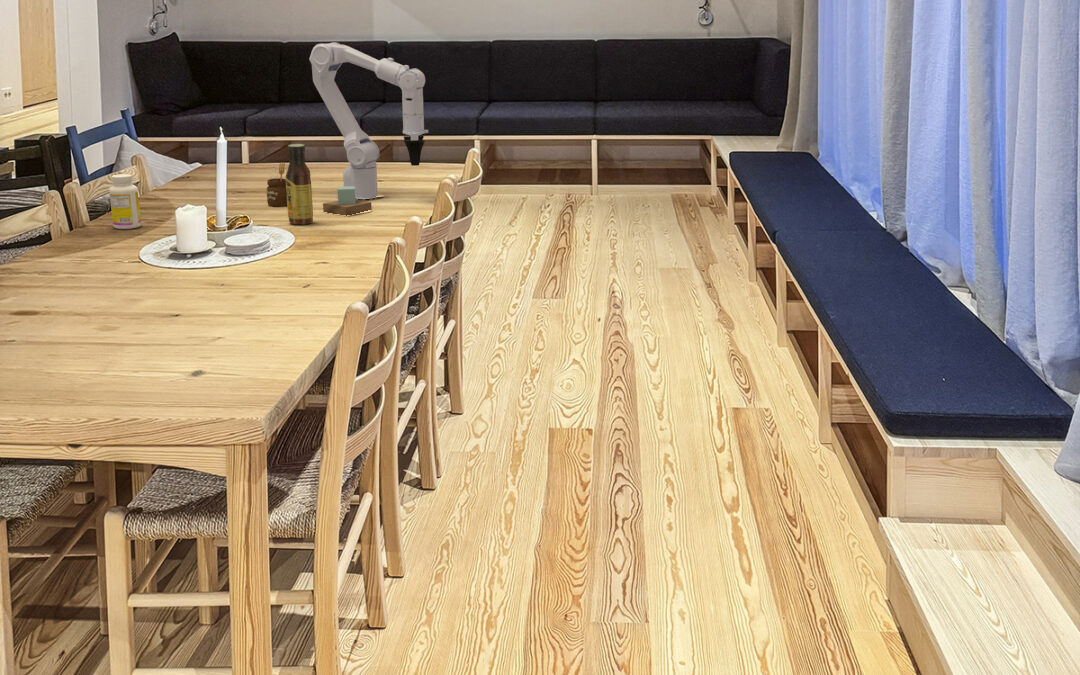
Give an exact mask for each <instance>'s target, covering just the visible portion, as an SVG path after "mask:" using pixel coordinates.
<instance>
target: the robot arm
mask: <svg viewBox="0 0 1080 675" xmlns="http://www.w3.org/2000/svg"><path fill="white" fill-rule="evenodd" d="M309 62H310V64H311V71H312V82H313V84H314V86H315V88H316V91H318V93H319V95H320V97H321V99H322V100H323V102H324V104H325V106H326V108H327V110H328V111H329V113H330V115H331V117H332V119H333V121H334V122H335V124H336V126H337V128H338V129H339V132H340V133H341V135H342V137H343V138H344V140H343V147H344V149H345V151H346V152H345V153H346V157H347V161H348V163H349V164H350V165H348V166H346V167H345V169H344V171H343V187H346V186H354V187H355V198H357V199H356V200H358V199H369V198H374V197H376V196H378V194H379V193H378V167H377V160H378V159H379V158H380V154H381V153H380V149H379V146H378V145H377V144H376V143H375V142H374V141H373V140H372V139H371V138H370V136H369V135H368V134H367V133H366V132H365V131H364V130H362V128H361V127H360V125H359V123H358V121H357V120H356V118H355V116H354V114H353V112H352V111H351V109H350V107H349V105H348V103H347V102H346V99H345V98H344V96H343V94H342V92H341V91H340V89H339V87H338V85H337V83H336V81H335V78H336V75H337V71H338V70H339V68H341V66H342V65H343V63H350V64H352V65H355V66H358V67H362V68H364V69H366V70H370V71H372V72H374V74H375V75H376V77H377V79H380V80H382V81H384V82H387V83H390V84H392V85H393V86H394V85H395V86H396V87H399V88H400V89H401V94H402V95H401V100H402V102H401V104H402V105H401V106H402V125H403V126H402V134H404V135H406V136H403V143H404V144H405V146H406V148H407V152H408V157H409V161H410V165H411V167H412V166H413V167H415V166H420V162H421V155H422V149H423V147H424V145H425V142H426V141H425V140H424V138H425V137H424V135H423V134H428V133H429V129H425V122H424V121H425V118H424V95H423V94H424V93H423V92H424V90H423V89H424V86H425V84H426V77H425V74H424V73H423V72H422V71H421V70H420V69H418V68H414V67H413V68H410V66H409V65H407V64H405V65H403V64H400V63H398V62H395V59H394V58H392V57H388V58H384V57H383V58H381V59H380V60H379V59H376V58H374V57H372V56H370V55H368V54H365V53H364V52H362V51H359V50H357V49H355V48H353V47H351V46H348V45H345V44H340V43H339V42H329V43H317V44H315V46H314V47H312V50H311V53H310V56H309Z"/></svg>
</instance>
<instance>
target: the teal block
mask: <svg viewBox="0 0 1080 675" xmlns="http://www.w3.org/2000/svg"><path fill="white" fill-rule="evenodd" d="M336 191H337V201H338V205H341V204H356V200H357V199H355V187H354V186H346V187H344V186H337V190H336Z"/></svg>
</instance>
